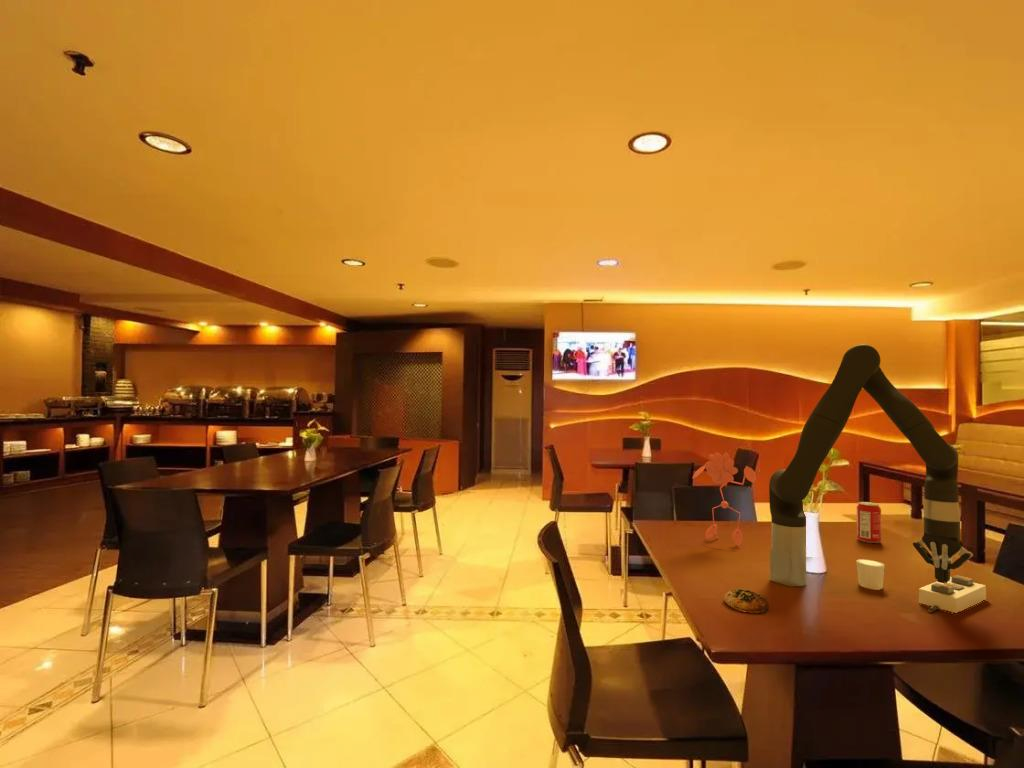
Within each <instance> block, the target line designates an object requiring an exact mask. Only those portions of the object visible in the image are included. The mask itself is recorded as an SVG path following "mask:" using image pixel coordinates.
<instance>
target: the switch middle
mask: <svg viewBox="0 0 1024 768" xmlns="http://www.w3.org/2000/svg"><path fill="white" fill-rule="evenodd" d="M944 585H948V586H952V587H954V590H958V591H960V590H963V589H964V587H962V586H958V585H954V584H950V583H945V584H944Z"/></svg>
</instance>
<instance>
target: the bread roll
mask: <svg viewBox="0 0 1024 768" xmlns="http://www.w3.org/2000/svg"><path fill="white" fill-rule="evenodd" d="M723 601H724V602H725V604H726V603H727V604H728V605H730V606H731V607H730V606H729V607H730V608H732V607H733V608H734V610H735V609H737V610H740V611H746V612H753V613H752V614H762V613H766V612H767V611H768V610H769V607H770V606H769V601H768V600H767V598H765V597H764V596H762V595H761V594H760V593H756V592H755V591H752V590H751V591H750V590H749V589H743V588H742V589H741V588H738V589H732V590H730V591H728V592H726V593H725V594H724V596H723ZM727 604H726V605H727ZM728 605H727V606H728ZM733 608H732V609H733ZM737 610H736V611H737ZM740 611H739V612H740Z"/></svg>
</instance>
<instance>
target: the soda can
mask: <svg viewBox="0 0 1024 768" xmlns="http://www.w3.org/2000/svg"><path fill="white" fill-rule="evenodd" d="M879 505H880V504H879V503H875V502H871V501H870V502H869V501H860V502H858V505H856V539H858V540H859V541H860V542H862V541H863V542H862V543H865V542H867V544H872V543H876V544H879V543H881V542H882V509H881V507H880V506H879Z"/></svg>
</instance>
